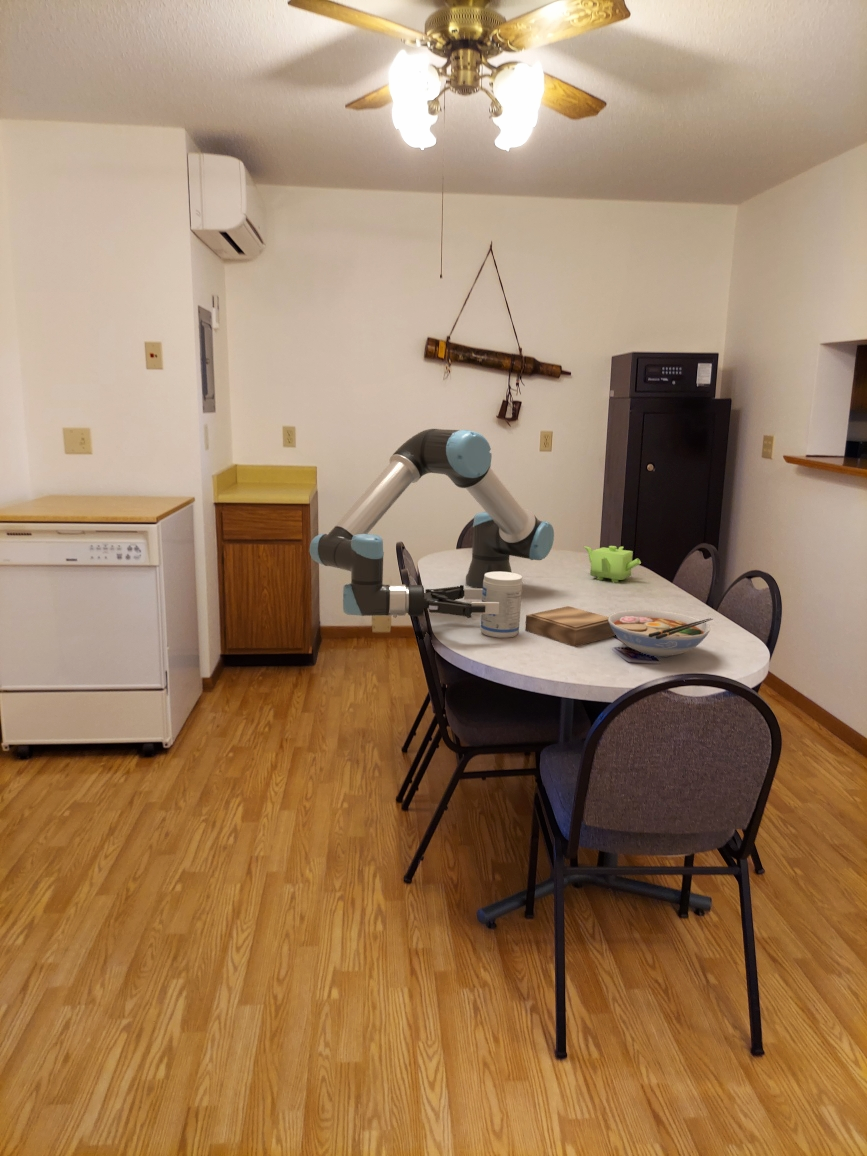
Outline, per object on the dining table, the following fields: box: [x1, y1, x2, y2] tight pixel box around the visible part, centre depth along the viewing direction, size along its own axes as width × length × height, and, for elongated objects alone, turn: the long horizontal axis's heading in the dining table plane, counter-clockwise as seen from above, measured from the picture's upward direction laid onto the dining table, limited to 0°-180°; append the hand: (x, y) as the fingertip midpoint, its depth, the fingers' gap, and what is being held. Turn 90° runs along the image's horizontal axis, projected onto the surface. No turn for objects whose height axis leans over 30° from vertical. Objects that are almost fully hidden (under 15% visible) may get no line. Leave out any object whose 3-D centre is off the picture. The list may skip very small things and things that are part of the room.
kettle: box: [582, 545, 642, 584], centre depth 254 cm, size 15×14×11 cm
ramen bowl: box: [608, 609, 714, 658], centre depth 178 cm, size 25×23×8 cm
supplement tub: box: [480, 572, 523, 639], centre depth 189 cm, size 10×10×15 cm
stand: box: [524, 605, 615, 647], centre depth 192 cm, size 16×16×4 cm
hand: (494, 601), depth 189 cm, fingers open, 13 cm apart
